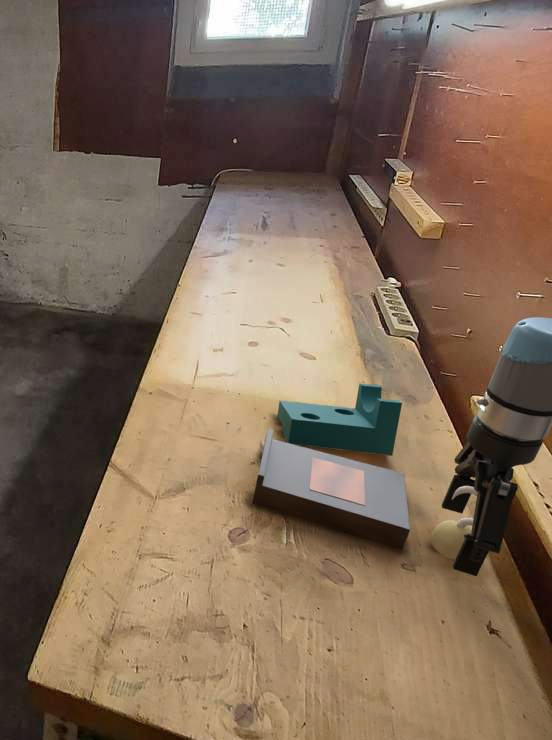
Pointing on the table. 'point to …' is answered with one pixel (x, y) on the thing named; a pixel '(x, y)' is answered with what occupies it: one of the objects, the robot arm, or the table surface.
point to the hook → (452, 531)
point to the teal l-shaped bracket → (344, 423)
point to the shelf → (333, 492)
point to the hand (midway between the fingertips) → (457, 538)
